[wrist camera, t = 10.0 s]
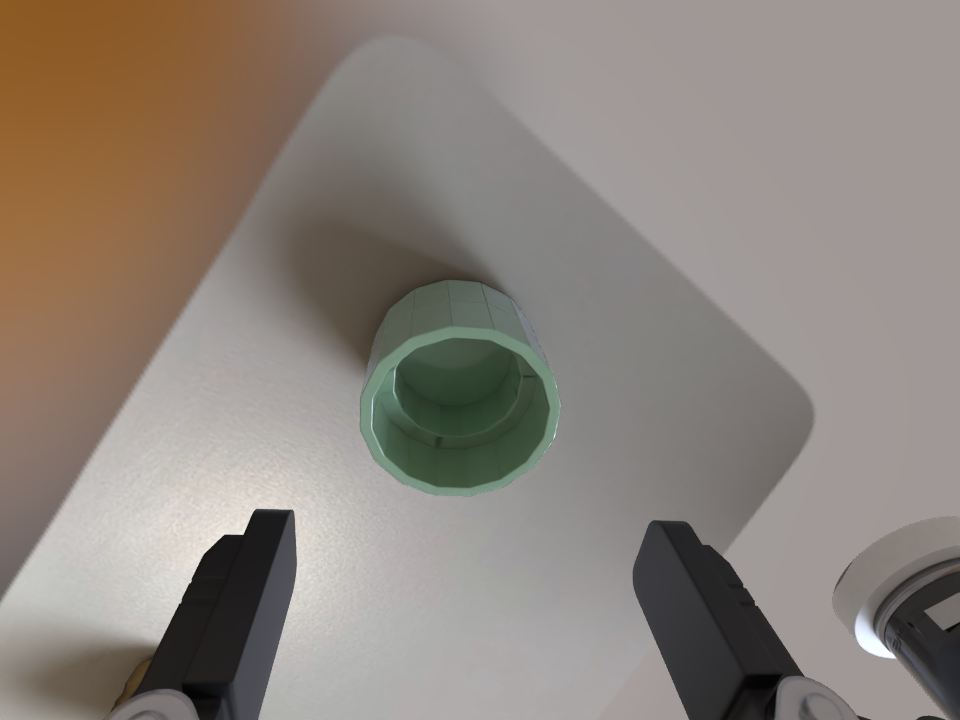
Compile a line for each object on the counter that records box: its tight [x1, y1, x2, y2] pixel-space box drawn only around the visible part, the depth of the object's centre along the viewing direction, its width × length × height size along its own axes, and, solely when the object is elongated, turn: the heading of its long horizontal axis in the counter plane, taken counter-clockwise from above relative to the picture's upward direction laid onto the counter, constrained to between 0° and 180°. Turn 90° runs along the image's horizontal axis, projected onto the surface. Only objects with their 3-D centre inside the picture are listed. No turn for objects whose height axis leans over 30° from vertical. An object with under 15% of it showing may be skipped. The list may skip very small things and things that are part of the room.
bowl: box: [360, 279, 561, 496], centre depth 18 cm, size 6×6×5 cm
